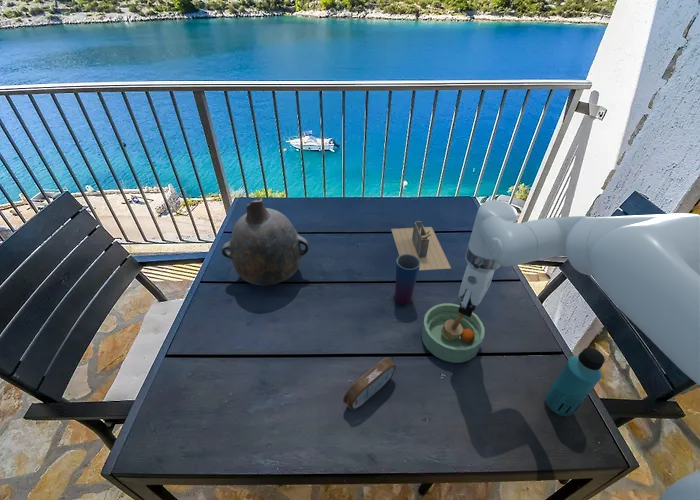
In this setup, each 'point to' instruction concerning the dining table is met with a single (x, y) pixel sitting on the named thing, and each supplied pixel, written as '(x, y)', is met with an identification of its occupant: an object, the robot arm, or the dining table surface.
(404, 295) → the cup
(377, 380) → the tin
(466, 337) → the ball
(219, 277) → the dining table surface
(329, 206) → the dining table surface
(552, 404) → the beverage bottle
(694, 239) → the robot arm
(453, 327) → the wooden pestle
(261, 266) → the jug
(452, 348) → the bowl
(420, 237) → the ruin model on sheet
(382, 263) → the dining table surface
